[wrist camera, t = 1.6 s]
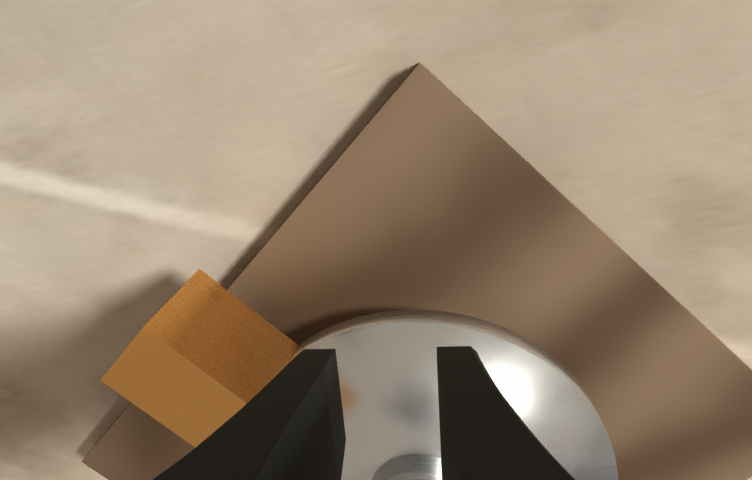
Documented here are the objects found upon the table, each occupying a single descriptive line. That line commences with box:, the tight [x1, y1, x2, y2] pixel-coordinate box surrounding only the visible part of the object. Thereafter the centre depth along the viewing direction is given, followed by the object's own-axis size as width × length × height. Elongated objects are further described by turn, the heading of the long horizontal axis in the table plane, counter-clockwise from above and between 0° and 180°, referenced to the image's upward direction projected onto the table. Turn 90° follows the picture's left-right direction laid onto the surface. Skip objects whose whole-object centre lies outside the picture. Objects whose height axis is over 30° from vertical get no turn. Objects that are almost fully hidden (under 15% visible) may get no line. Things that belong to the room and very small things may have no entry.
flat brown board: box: [82, 63, 752, 480], centre depth 22 cm, size 20×22×2 cm
